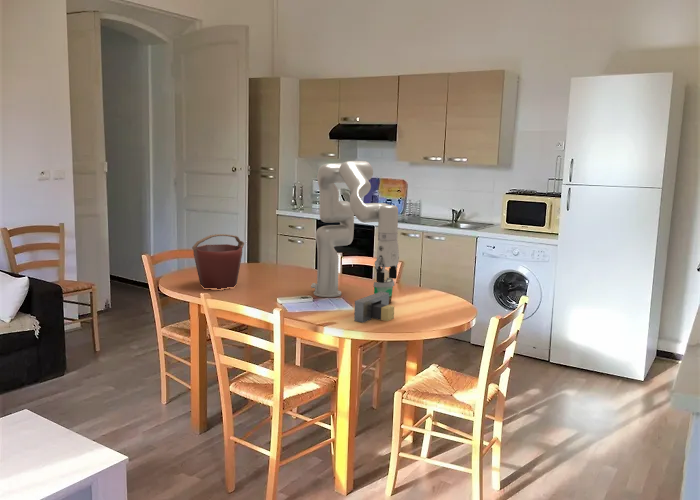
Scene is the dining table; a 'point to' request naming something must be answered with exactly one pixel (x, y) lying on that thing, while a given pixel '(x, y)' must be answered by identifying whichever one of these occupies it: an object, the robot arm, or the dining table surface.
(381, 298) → the housing
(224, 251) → the bucket
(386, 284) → the food container
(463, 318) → the dining table surface
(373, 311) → the rod
